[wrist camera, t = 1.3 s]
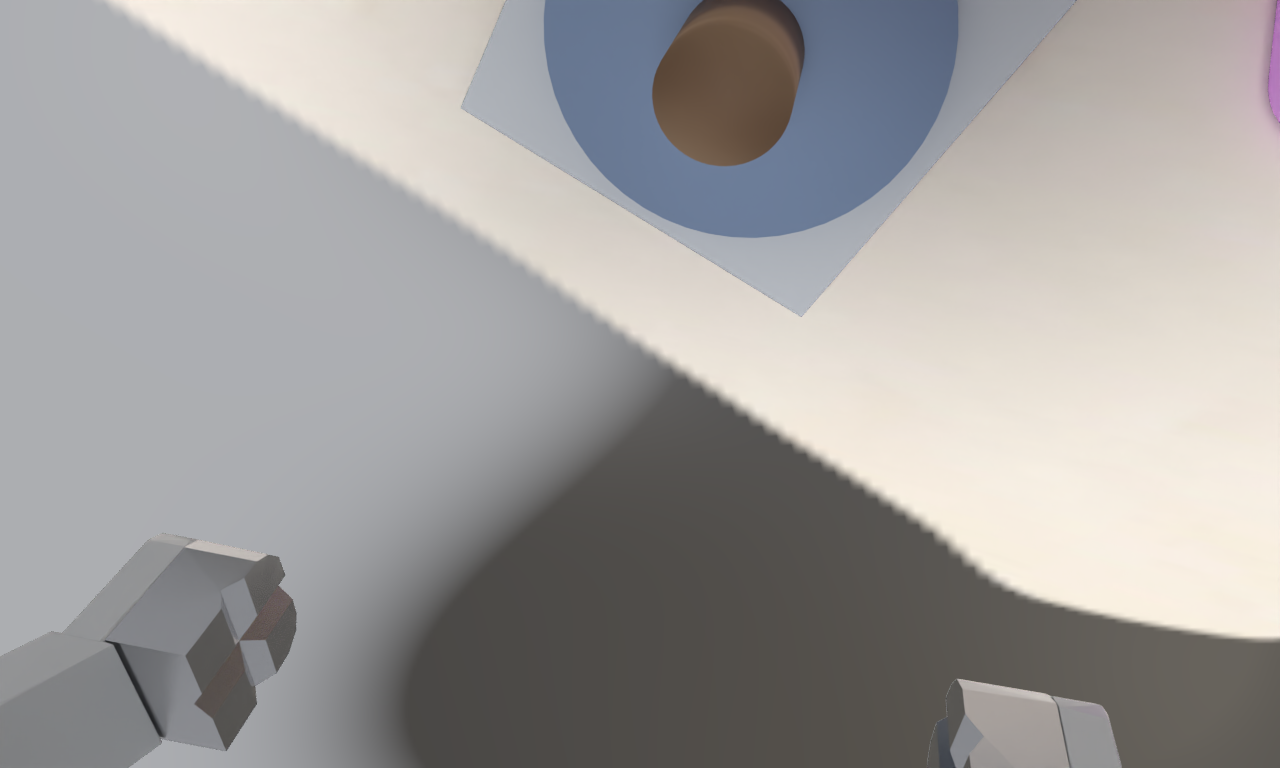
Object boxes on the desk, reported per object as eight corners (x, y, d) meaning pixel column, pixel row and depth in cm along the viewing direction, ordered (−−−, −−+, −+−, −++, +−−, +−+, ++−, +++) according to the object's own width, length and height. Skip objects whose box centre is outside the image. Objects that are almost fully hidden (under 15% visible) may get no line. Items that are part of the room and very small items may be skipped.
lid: (673, -299, 24) (630, -296, 20) (1054, -25, 26) (1082, 26, 22) (495, 99, 32) (440, 156, 28) (795, 285, 34) (782, 362, 30)
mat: (663, -365, 23) (660, -365, 23) (1106, -41, 26) (1109, -38, 25) (464, 104, 33) (460, 107, 32) (802, 311, 35) (801, 317, 35)
